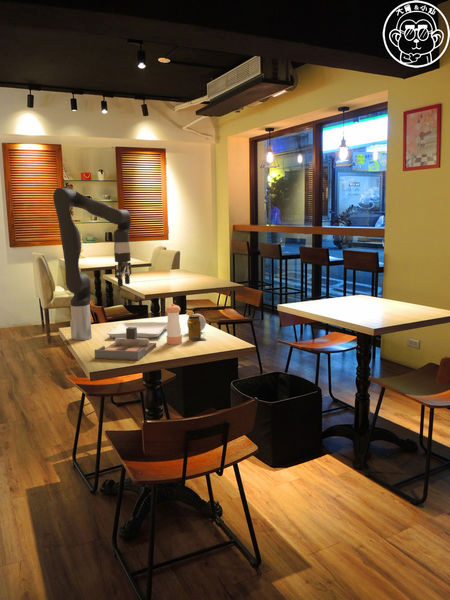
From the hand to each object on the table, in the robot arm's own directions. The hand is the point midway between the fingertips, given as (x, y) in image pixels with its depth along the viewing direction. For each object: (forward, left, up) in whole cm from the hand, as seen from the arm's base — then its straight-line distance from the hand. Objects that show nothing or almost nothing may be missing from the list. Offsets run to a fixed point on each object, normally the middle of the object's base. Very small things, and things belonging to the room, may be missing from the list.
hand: (124, 285), depth 253 cm
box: (+8, -27, -28) cm, 40 cm away
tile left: (+3, -25, -28) cm, 37 cm away
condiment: (+33, +9, -28) cm, 44 cm away
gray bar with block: (+8, -13, -26) cm, 30 cm away
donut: (+29, +24, -28) cm, 47 cm away
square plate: (0, +18, -29) cm, 34 cm away
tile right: (+13, -25, -28) cm, 40 cm away
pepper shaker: (+24, +1, -28) cm, 37 cm away
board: (+8, -15, -28) cm, 33 cm away
